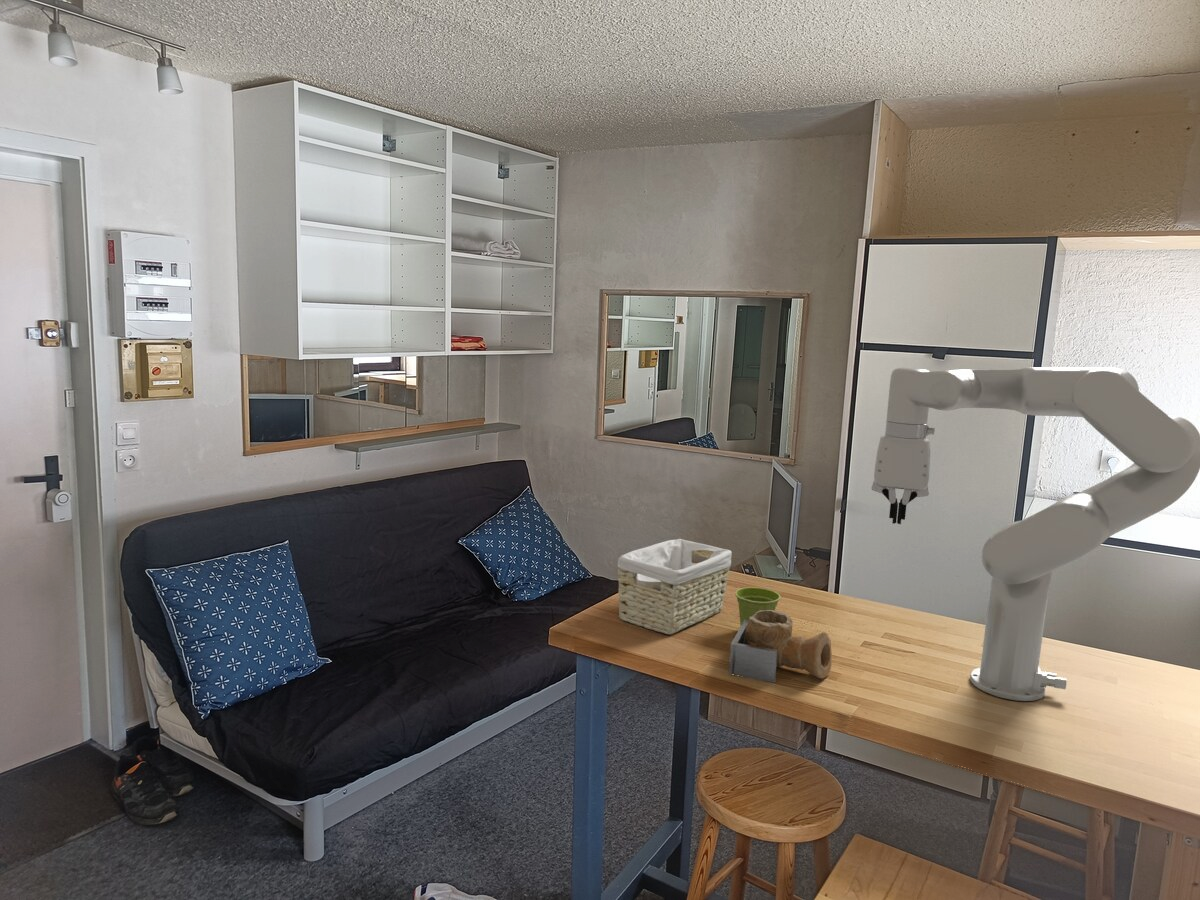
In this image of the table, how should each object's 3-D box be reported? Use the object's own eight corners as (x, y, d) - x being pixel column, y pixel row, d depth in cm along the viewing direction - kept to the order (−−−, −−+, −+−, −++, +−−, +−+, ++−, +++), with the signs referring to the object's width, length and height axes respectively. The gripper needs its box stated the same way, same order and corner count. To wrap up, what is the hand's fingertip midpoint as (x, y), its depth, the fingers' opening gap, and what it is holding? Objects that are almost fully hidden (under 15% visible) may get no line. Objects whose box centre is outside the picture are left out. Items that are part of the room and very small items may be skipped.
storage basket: (672, 595, 199) (675, 535, 197) (731, 612, 189) (735, 549, 187) (611, 621, 181) (613, 555, 178) (673, 641, 171) (677, 572, 168)
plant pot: (754, 645, 170) (757, 604, 169) (723, 629, 178) (726, 591, 176) (786, 636, 175) (790, 597, 174) (755, 622, 183) (758, 584, 182)
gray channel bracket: (784, 654, 166) (787, 626, 165) (774, 682, 153) (776, 652, 152) (742, 647, 169) (744, 619, 168) (728, 674, 156) (730, 644, 155)
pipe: (822, 688, 151) (827, 636, 150) (737, 668, 158) (740, 618, 157) (832, 670, 159) (837, 620, 158) (750, 652, 166) (754, 604, 165)
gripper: (945, 432, 163) (936, 522, 166) (866, 426, 168) (858, 514, 171) (947, 437, 156) (937, 531, 159) (864, 430, 161) (856, 522, 164)
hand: (896, 522), depth 165 cm, fingers closed
